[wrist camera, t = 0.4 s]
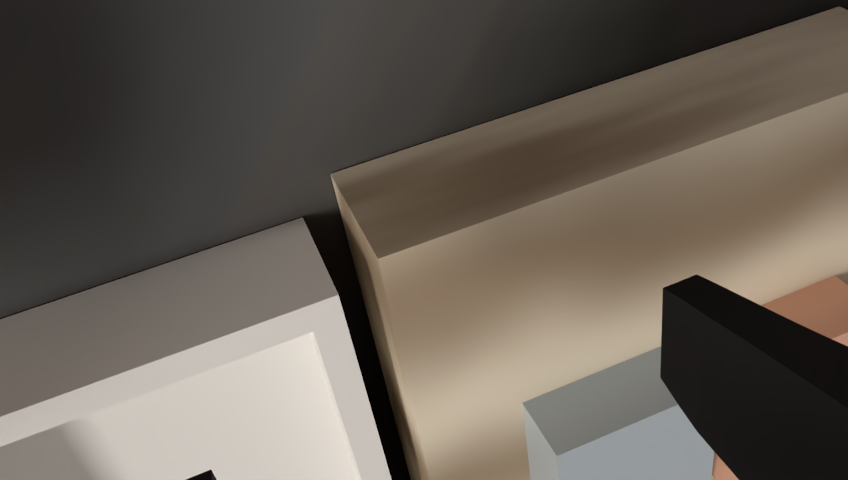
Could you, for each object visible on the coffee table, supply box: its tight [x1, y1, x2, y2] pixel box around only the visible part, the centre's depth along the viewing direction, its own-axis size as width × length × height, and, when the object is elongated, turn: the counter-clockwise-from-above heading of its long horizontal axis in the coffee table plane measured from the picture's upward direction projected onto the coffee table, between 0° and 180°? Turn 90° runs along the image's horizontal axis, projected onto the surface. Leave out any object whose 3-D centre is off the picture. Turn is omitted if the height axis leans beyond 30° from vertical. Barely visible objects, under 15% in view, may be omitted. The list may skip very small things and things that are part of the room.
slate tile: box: [522, 346, 714, 480], centre depth 24 cm, size 5×5×2 cm
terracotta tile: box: [712, 275, 848, 480], centre depth 25 cm, size 5×5×2 cm
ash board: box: [330, 7, 848, 480], centre depth 26 cm, size 18×16×4 cm
